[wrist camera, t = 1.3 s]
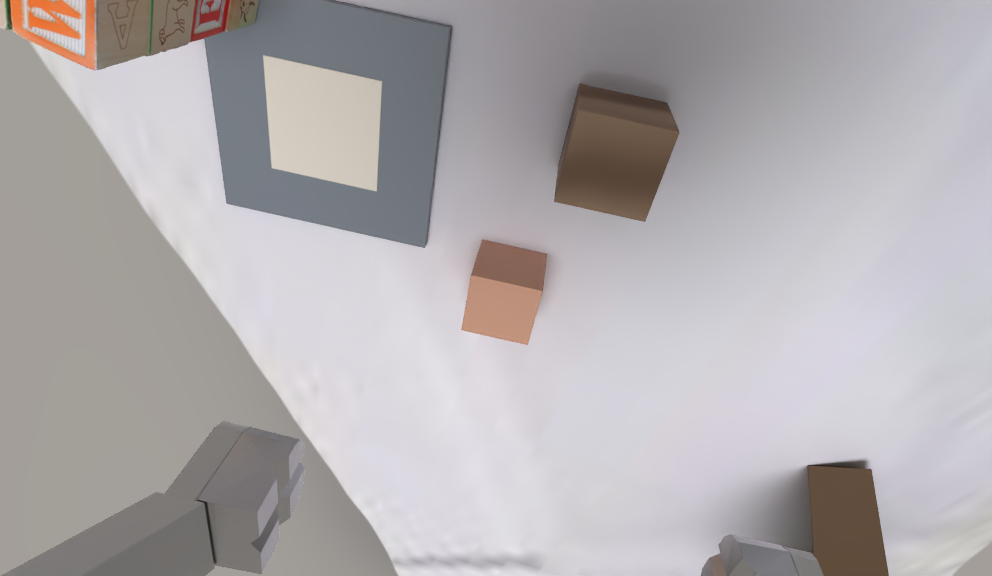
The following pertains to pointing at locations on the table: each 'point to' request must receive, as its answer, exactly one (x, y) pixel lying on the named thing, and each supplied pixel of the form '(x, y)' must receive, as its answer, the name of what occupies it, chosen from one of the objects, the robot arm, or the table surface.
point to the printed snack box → (121, 25)
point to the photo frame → (846, 522)
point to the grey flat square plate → (331, 115)
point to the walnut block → (615, 152)
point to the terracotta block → (504, 292)
